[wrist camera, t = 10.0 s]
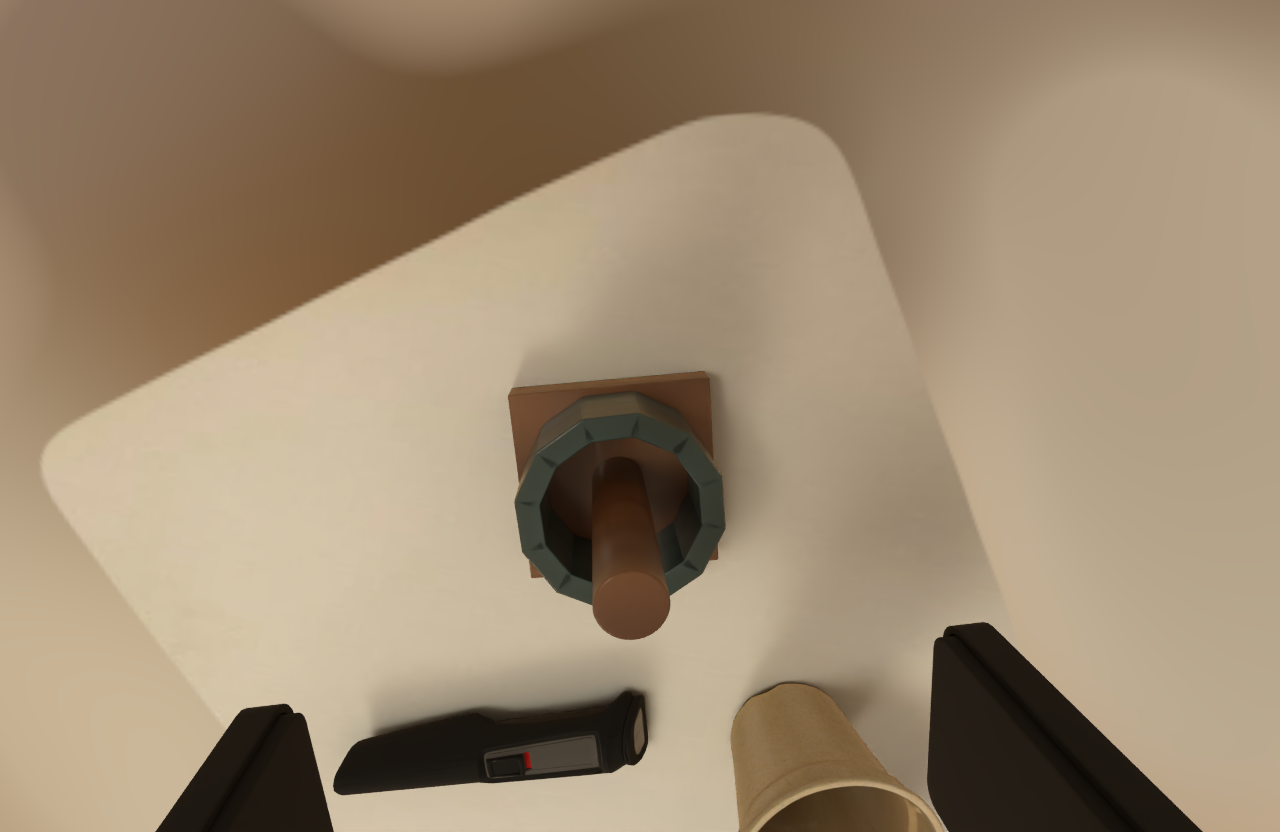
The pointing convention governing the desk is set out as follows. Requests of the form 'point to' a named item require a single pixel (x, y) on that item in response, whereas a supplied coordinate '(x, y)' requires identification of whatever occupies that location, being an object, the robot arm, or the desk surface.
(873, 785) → the flower pot
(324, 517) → the desk surface
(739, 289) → the desk surface
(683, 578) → the ring
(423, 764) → the electric trimmer
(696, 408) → the stand
